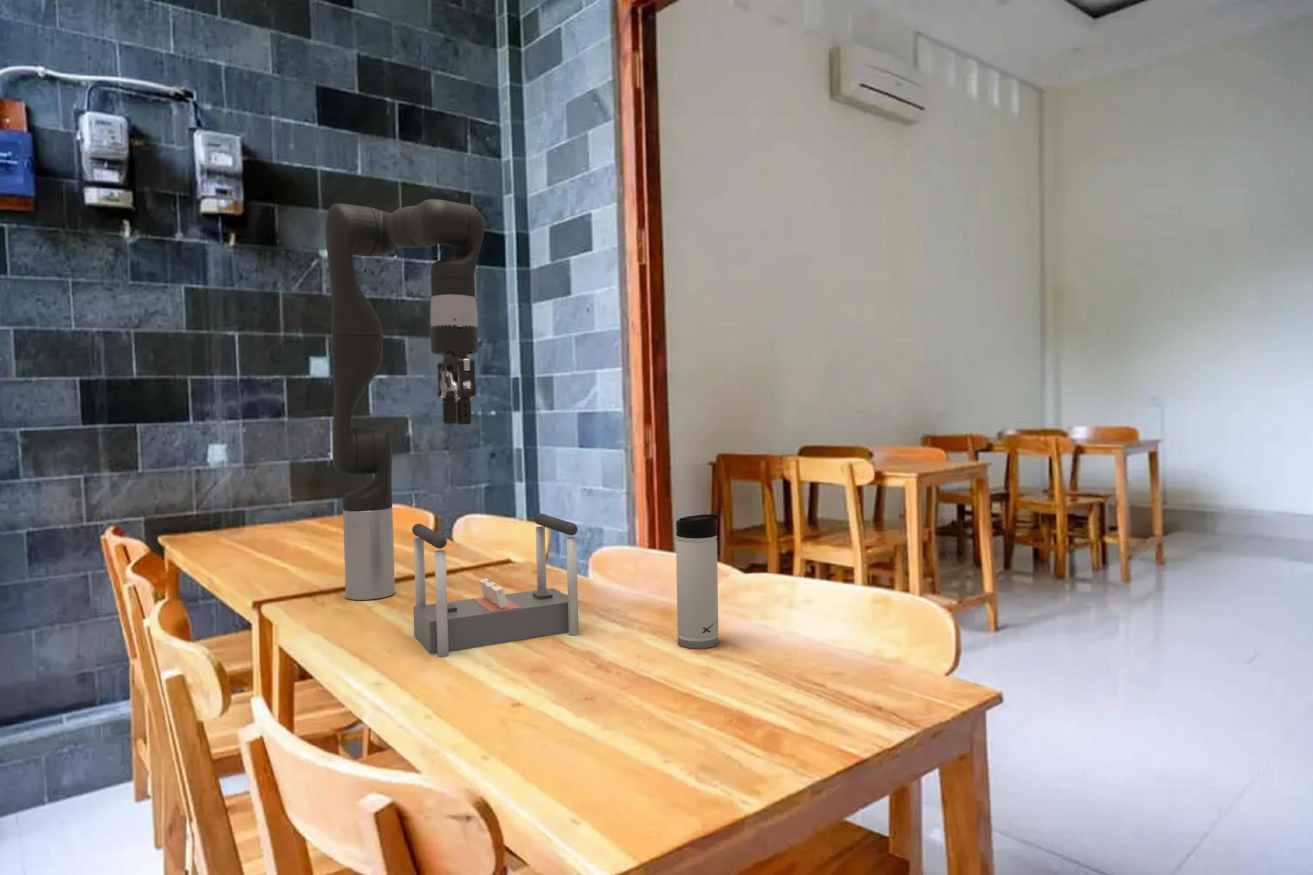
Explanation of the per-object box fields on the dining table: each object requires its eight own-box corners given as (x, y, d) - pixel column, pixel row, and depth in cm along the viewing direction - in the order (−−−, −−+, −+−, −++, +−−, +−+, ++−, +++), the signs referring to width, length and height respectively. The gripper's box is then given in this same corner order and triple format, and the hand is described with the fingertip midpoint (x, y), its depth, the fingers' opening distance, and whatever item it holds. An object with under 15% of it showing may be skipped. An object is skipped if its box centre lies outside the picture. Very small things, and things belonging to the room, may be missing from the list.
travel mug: (717, 650, 122) (716, 516, 121) (674, 648, 123) (672, 516, 122) (723, 638, 128) (721, 511, 127) (681, 636, 129) (679, 510, 128)
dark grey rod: (532, 524, 144) (532, 513, 143) (543, 523, 144) (543, 512, 144) (568, 536, 129) (567, 524, 129) (579, 535, 130) (579, 523, 130)
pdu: (411, 633, 134) (408, 538, 133) (548, 612, 145) (546, 525, 145) (434, 658, 120) (431, 552, 119) (584, 633, 132) (582, 537, 131)
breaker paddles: (483, 597, 136) (478, 580, 136) (490, 594, 137) (485, 577, 136) (500, 608, 128) (495, 590, 128) (507, 605, 129) (502, 587, 128)
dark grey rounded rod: (411, 535, 133) (410, 523, 133) (423, 534, 134) (423, 522, 134) (434, 550, 119) (434, 536, 119) (448, 548, 120) (448, 535, 120)
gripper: (421, 328, 138) (423, 424, 139) (442, 320, 126) (445, 425, 126) (464, 329, 142) (467, 422, 143) (489, 321, 129) (492, 424, 130)
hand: (456, 423), depth 135 cm, fingers open, 8 cm apart
